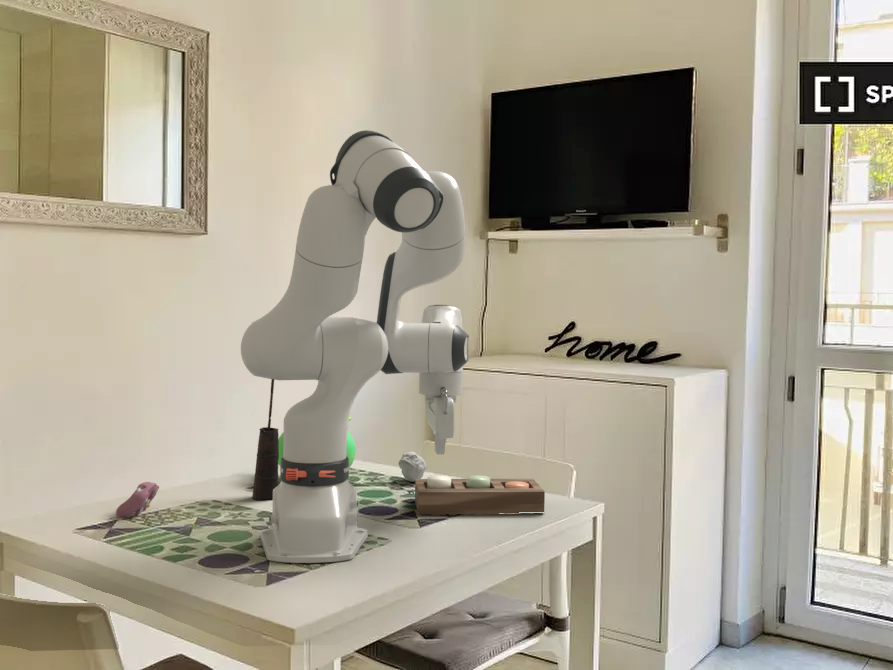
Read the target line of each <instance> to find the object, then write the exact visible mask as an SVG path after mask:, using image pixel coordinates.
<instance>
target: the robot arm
mask: <svg viewBox="0 0 893 670" xmlns="http://www.w3.org/2000/svg"><path fill="white" fill-rule="evenodd" d="M329 171H330V172H329V179H330V183H331V185H330V184H328V185H323V186H320V187H318V188H316V189H315V190H313V191H312V192H311V193H310V195H309V196H308V198H307V201H306V203H305V206H304V208H303V212H302V215H301V219H300V224H299V226H298V227H299V228H298V232H297V238H296V243H295V252H294V253H295V254H294V259H293V264H292V265H293V266H292V272H291V275H290V280H289V285H288V287H287V289H286V291H285V293H284V295H283V296H282V297H281V299H280V301H278V303H277V304H276V305H275V306H274V307H273V308H272V309H271V310H270V311H268V312H267V313H266V314H265V315H263V316H261V317H260V318H258V319H256V320H255V321H253V322H252V323H250V325H249V326H248V327H247V328H246V329H245V332H244V333H243V336H242V338H241V342H240V355H241V359H242V362H243V364H244V366H245V367H246V369H247V370H248V372H249V373H250V374H251V375H252V376H254V377H258V378H262V379H268V380H269V379H271V380H272V379H274V381H311V380H312V381H317V385H316V388H315V390H314V392H313V393H312V394H310V395H309V396H307V397H306V398H304V399H302V400H301V401H298V402H297V403H295V404H293V405H292V406H291V407H289V409H288V410H287V412H286V413H285V415H284V418H283V432H284V434H283V457H282V458H281V465H279V471H280V477H279V479H280V483H278V486H277V487H275V489H273V499H272V513H271V514H272V515H269V520H268V522H269V523H270V524H272V525H271V527H270V528H266V529H262V530H261V531H260V535H259V539H260V542H261V544H262V545H261V546H262V548H263V551H264V553H265V556H266V557H265V558H266V559H267V560H268V561H272V562H278V563H279V562H280V563H293V564H295V563H296V564H299V563H301V564H304V563H305V564H311V563H312V564H313V563H314V564H316V563H334V562H343V561H347V560H348V561H349V560H352V559H354V557H355V555H356V554H357V553H358V551H359V550H360V548H361V547H362V546H363V544H364V542H365V541H366V539H367V538H368V536H369V535H368V533H369V532H368V529H366V528H363V527H362V528H361V527H359V526H358V525H359V512H358V508H359V500H358V498H357V496H358V495H357V494H358V491H357V488H355V487H354V486H353V485H352V484H351V483H350V481H349V477H350V468H349V458H348V457H347V456H346V448H347V431H348V428H349V422H348V420H349V417H350V413H351V410H352V407H353V404H354V402H355V399H356V398H357V396H358V394H359V393H360V391H361V390H362V388H363V387H364V386H365V385H366V383H367V382H368V381H370V380H371V379H372V378H373V377H374V376H375V375H377V374H378V373H380V371H381V372H382V373H383V374H385V375H392V374H394V375H395V374H396V375H397V374H403V373H404V374H405V373H407V374H408V373H411V374H415V373H417V374H418V375H419V377H418V378H419V379H418V380H419V381H418V393H419V395H423V396H424V403H425V415H426V421H427V425H429V427H430V429H431V430H432V432H433V433H432V434H433V440H434V441H433V442H434V451H435V454H436V455H445V453H446V443H447V439H453V438H454V435H455V403H456V402H457V396H461V395H463V394H464V393H463V389H464V388H463V386H464V383H463V382H464V381H463V380H464V366H465V365H466V364H467V362H469V337H470V336H469V334H468V333H467V332H466V331H465V330H464V326H463V318H462V311H461V309H460V308H458V307H457V306H455V305H450V304H433V305H432V304H431V305H428V306H427V307H425V308H424V309H423V311H422V317H421V318H422V319H421V322H406V321H405V322H404V321H402V320H399V314H400V313H399V312H400V307H401V302H402V301H401V299H402V297H403V296H404V295H405V294H406V293H408V292H410V291H412V290H414V289H417V288H419V287H422V286H426V285H430V284H433V283H437V282H440V281H442V280H444V279H446V278H447V277H449V276H450V275H451V274H453V273H454V272H455V271H456V270H457V269H458V267H459V266H460V265H461V263H462V262H463V260H464V255H465V247H466V222H465V221H466V219H465V210H464V204H463V203H464V202H463V198H462V193H461V191H460V186H459V184H458V182H457V181H456V179H455V178H454V177H453V176H451V175H450V174H449V173H446V172H444V171H441V170H439V171H438V170H427V171H425V170H424V169H422V168H421V166H420V165H419V164H418V163H417V162H416V161H415V160H414V158H413V157H412V156H411V154H410V153H409V152H407V151H406V150H405V149H404V148H403V147H401V146H400V145H398V144H397V143H395V142H394V141H393V140H392V139H391V138H390V137H388V136H386V135H385V134H383V133H381V132H378V131H373V130H360V131H356V132H355V133H353V134H352V135H350V136H349V137H347V138H346V140H345V141H344V142H343V144H342V145H341V147H340V148H339V150H338V153H337V155H336V157H335V162H334V164H333V165H332V167H331V168H330V170H329ZM333 175H334V176H333ZM333 177H334V178H333ZM375 219H377V220H378V222H379V223H380V224H382V225H383V226H384V227H385V228H388V229H390V230H392V231H394V232H398V233H401V238H402V239H401V243H400V246H399V247H398V248H397V250H396V251H394V252H393V253H390V254H389V255H388V256H387V258H386V262H385V264H384V269H383V274H382V280H381V286H380V293H379V302H378V309H377V315H376V316H377V317H376V321H371V320H367V319H363V318H357V317H345V316H343V317H337V316H336V317H335V316H334V317H331V316H332V315H334V314H336V313H338V312H340V311H343V309H345V308H348V306H349V305H350V304H351V303H352V302H353V300H354V299H355V297H356V295H357V293H358V288H359V283H360V277H361V272H362V271H361V270H362V265H363V259H364V252H365V244H366V243H365V242H366V236H367V234H368V231H369V228H370V227H371V225H372V223H373V222H374V221H375Z"/></svg>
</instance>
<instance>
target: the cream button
mask: <svg viewBox="0 0 893 670" xmlns="http://www.w3.org/2000/svg"><path fill="white" fill-rule="evenodd" d="M426 479H427V489H451V479H452V477H450V476H448V475H429V476H427V478H426Z"/></svg>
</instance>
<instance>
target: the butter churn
mask: <svg viewBox="0 0 893 670" xmlns="http://www.w3.org/2000/svg"><path fill="white" fill-rule="evenodd" d="M270 381H271V382H270V399H269V407H268V408H269V410H268V422H267V427H266V426H264V427H261V428H259V429H258V430H259V435H258V441H257V442H258V443H257V453H256V463H255V468H254V469H255V472H254V481H253V487H252V488H253V489H252V499H254V500H257V501H262V500H273V489H275V487H277V486H278V485H279V464H278V459H279V437H280V436H279V428H276V427H271V426H272V425H271V423H272V419H271V417H272V411H273V400H274V399H273V398H274V397H273V396H274V389H275V388H274V387H275V380H274V379H271V380H270Z"/></svg>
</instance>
